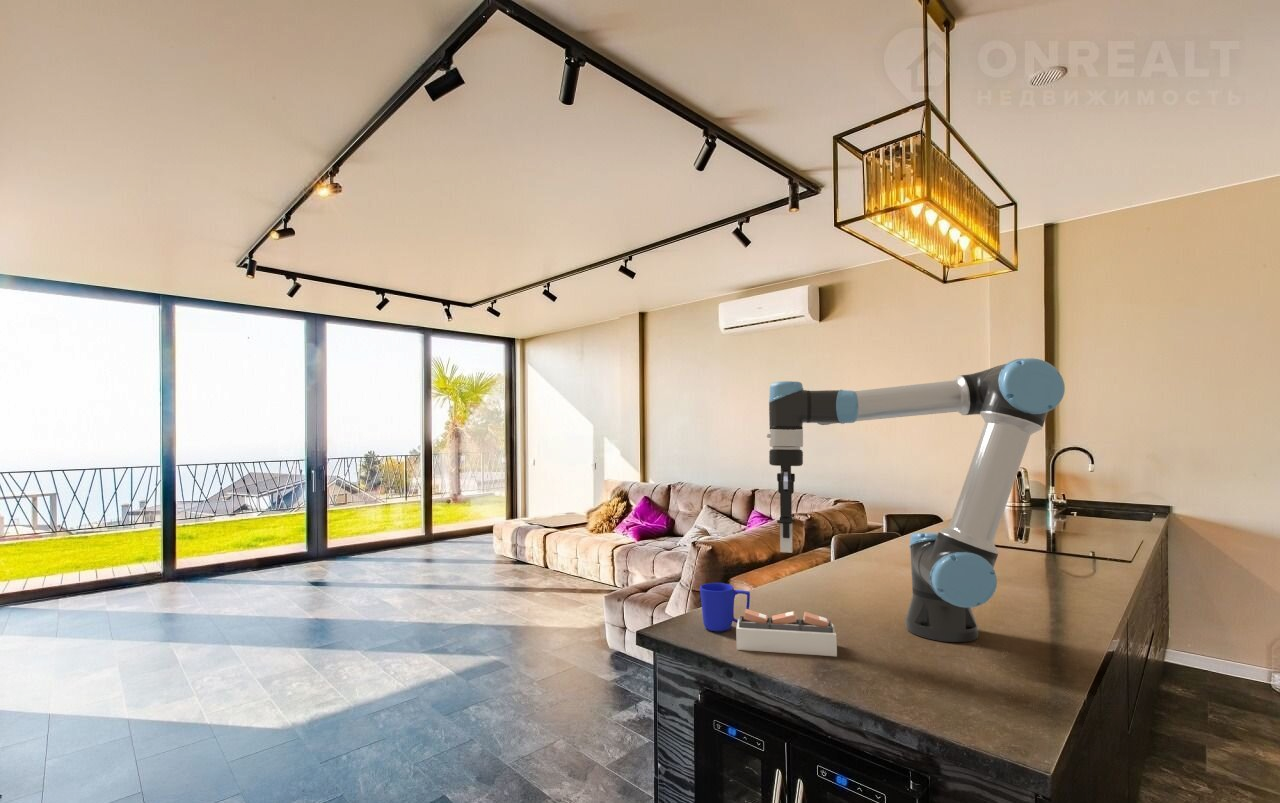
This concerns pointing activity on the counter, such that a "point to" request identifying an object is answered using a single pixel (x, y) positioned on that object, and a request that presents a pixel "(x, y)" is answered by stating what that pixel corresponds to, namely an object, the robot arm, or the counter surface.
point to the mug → (719, 605)
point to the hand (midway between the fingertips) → (786, 551)
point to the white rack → (786, 637)
